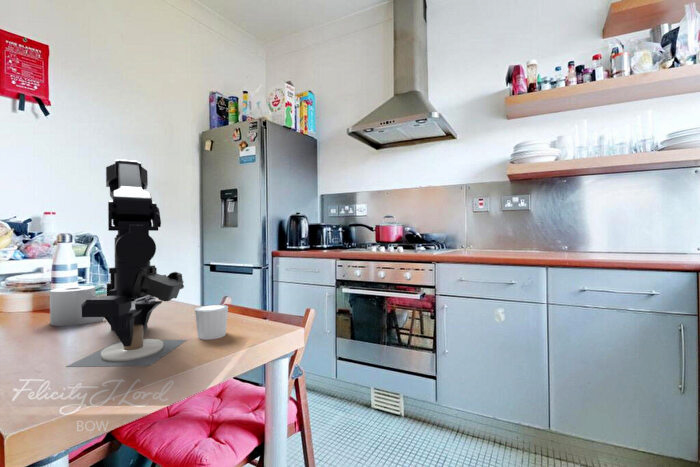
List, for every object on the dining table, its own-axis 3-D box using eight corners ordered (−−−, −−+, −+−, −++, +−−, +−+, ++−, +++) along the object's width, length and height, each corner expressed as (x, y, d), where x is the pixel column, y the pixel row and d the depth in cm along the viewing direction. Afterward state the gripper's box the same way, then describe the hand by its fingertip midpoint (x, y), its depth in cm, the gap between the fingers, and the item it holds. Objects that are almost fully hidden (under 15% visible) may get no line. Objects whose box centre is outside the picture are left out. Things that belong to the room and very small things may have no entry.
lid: (87, 361, 60) (87, 334, 59) (123, 342, 70) (123, 319, 69) (144, 361, 60) (144, 334, 60) (172, 342, 70) (172, 319, 70)
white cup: (233, 334, 78) (233, 304, 78) (219, 344, 71) (219, 311, 71) (205, 333, 79) (205, 303, 79) (188, 343, 72) (188, 310, 72)
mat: (66, 371, 58) (66, 366, 57) (120, 343, 72) (120, 340, 72) (149, 370, 58) (149, 365, 58) (187, 343, 72) (187, 339, 72)
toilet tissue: (109, 320, 90) (109, 288, 90) (44, 327, 84) (44, 292, 84) (114, 313, 98) (114, 283, 98) (55, 319, 92) (55, 287, 92)
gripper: (147, 266, 55) (147, 361, 55) (196, 257, 74) (197, 328, 74) (78, 266, 55) (78, 362, 55) (145, 257, 74) (145, 329, 74)
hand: (133, 343), depth 65 cm, fingers closed on lid, 3 cm apart
